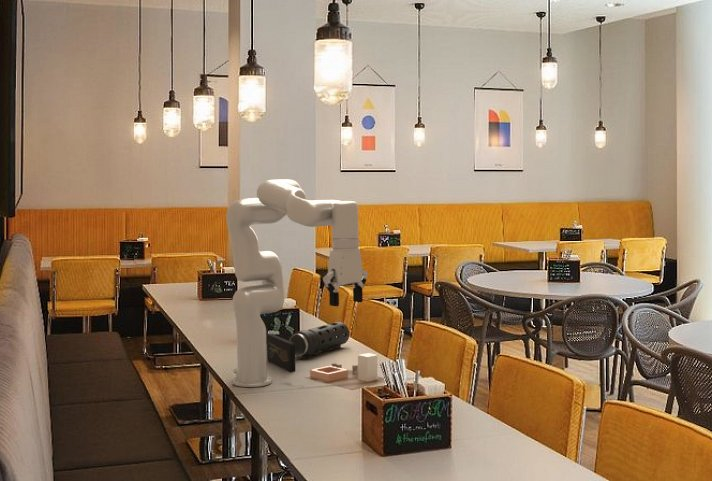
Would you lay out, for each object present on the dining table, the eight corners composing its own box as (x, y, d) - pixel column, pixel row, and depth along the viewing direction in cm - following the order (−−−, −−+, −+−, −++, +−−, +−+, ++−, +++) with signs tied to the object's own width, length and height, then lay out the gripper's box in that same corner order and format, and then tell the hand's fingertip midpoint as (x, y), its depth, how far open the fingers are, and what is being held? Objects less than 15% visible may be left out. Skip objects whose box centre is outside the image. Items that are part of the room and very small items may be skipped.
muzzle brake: (350, 348, 345) (350, 321, 344) (308, 362, 321) (307, 333, 320) (329, 346, 350) (329, 319, 349) (286, 359, 326) (286, 331, 325)
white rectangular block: (358, 379, 289) (358, 354, 288) (368, 377, 292) (367, 352, 291) (367, 381, 286) (367, 356, 285) (377, 379, 289) (377, 354, 288)
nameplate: (267, 361, 323) (266, 334, 322) (271, 360, 324) (271, 333, 323) (290, 372, 304) (289, 343, 303) (295, 372, 305) (295, 343, 304)
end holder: (310, 377, 292) (310, 369, 292) (330, 372, 298) (330, 365, 298) (327, 381, 286) (327, 374, 286) (348, 377, 292) (348, 369, 292)
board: (304, 380, 292) (304, 368, 292) (344, 371, 304) (344, 360, 304) (352, 393, 275) (351, 380, 275) (392, 383, 288) (392, 370, 287)
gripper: (356, 241, 263) (357, 299, 264) (314, 245, 251) (315, 306, 252) (375, 243, 258) (376, 301, 259) (333, 247, 245) (334, 308, 247)
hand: (346, 303), depth 256 cm, fingers open, 9 cm apart
